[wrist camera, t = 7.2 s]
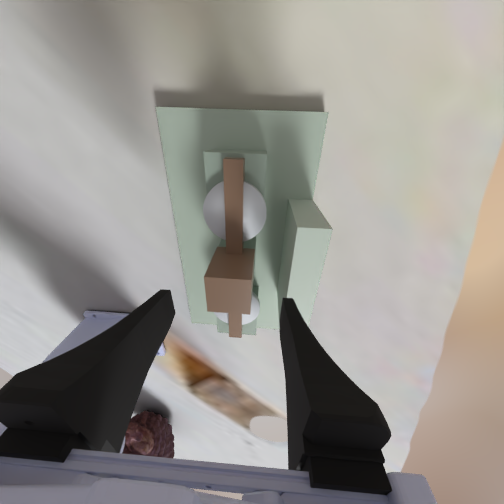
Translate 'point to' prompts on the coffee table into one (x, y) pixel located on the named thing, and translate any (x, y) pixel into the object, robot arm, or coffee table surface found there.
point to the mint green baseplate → (270, 186)
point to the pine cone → (149, 436)
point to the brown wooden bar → (233, 246)
